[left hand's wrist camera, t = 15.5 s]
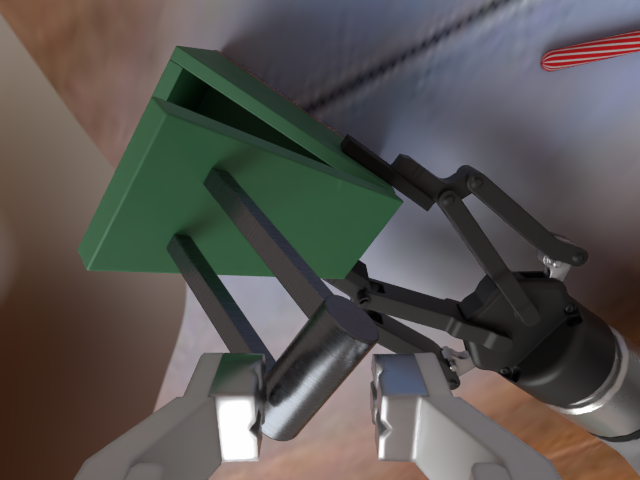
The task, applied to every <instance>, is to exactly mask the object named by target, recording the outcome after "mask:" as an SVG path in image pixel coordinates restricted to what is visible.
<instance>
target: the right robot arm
mask: <svg viewBox="0 0 640 480" xmlns="http://www.w3.org/2000/svg"><path fill="white" fill-rule="evenodd" d="M341 148H342V150H343V151H344V152H345V153H347V154H348V155H349V156H351V157H352V158H354V159H355V160H356V161H358V162H359V163H361V164H362V165H363V166H365V167H366V168H368V169H369V170H370V171H372V172H373V173H375V174H376V175H377V176H379V177H380V178H382V179H383V180H384V181H386V182H387V183H389V184H390V185H391V186H393V187H394V188H396V189H397V190H398V191H400V192H401V193H403V194H404V195H405V196H407V197H408V198H410V199H411V200H412V201H414V202H415V203H416V204H418V205H419V206H421V207H422V208H423V209H425V210H426V211H428V210H429V209H430V208H431V207H432V205H433V204H434V203H435V202H436V203H437V204H438V206H439V207H440V208H441V210H442V211H443V213H444V214H445V215H446V217H447V218H448V220H449V221H450V223H451V224H452V225H453V227H454V228H455V230H456V231H457V233H458V234H459V235H460V237H461V238H462V240H463V241H464V243H465V244H466V245H467V247H468V248H469V250H470V251H471V252H472V254H473V255H474V257H475V258H476V260H477V261H478V263H479V264H480V266H481V267H482V269H483V270H484V271H485V273H486V274H487V275H486V276H485V277H484V278H483V279H482V280H481V281H480V282H479V284H478V286H477V288H476V290H475V291H474V292H473V293H471V294H470V295H468V296H467V297H465V298H464V299H463V301H462V302H459V301H455V300H452V299H448V298H446V299H445V300H443V299H439V298H436V297H432V296H429V295H426V294H422V293H419V292H415V291H412V290H409V289H405V288H402V287H398V286H395V285H392V284H388V283H385V282H381V281H378V280H375V279H371V278H369V277H368V272H367V268H366V265H365V264H364V263H362V262H361V261H359V260H358V261H357V263H356V264H355V265H354V266H353V268H352V269H351V270H350V272H349V273H348V274H347V276H346V277H345V278H344V279H327V278H321V279H323V280H325V281H326V282H328V283H329V284H331V285H333V286H334V287H336V288H337V289H339V290H340V291H342V292H344V293H345V294H347V295H348V296H349V297H350V298H351V299H350V301H352V302H353V303H355V304H356V305H358V306H359V307H360V308H361V309H363V310H364V311H365V312H366V313H367V314H368V315H369V316H370V318H371V319H372V320H373V321H374V323H375V325H376V326H377V328H378V331H379V340H378V342H377V343H378V344H380V345H382V346H384V347H385V348H387V349H389V350H391V351H393V352H395V353H397V354H413V353H434V354H435V355H436V357H437V359H438V362H439V364H440V366H441V369H442V371H443V373H444V376H445V378H446V380H447V383H448V385H449V387H450V390H454V389H457V388H458V387H459V385H460V380H459V378H458V377H459V376H461V375H463V374H464V373H466V372H468V371H469V370H471V369H473V368H474V367H477V368H479V369H482V370H490V371H494V372H497V373H498V374H500V375H501V376H503V377H504V378H505V379H507V380H508V381H510V382H511V383H513V384H514V385H516V386H517V387H519V388H521V389H522V390H524V391H525V392H527V393H528V394H530V395H531V396H533V397H535V398H536V399H538V400H539V401H541V402H543V403H545V404H546V405H547V406H548V407H550V408H551V409H553V410H554V411H556V412H558V413H559V414H561V415H562V416H564V417H566V418H567V419H569V420H570V421H572V422H574V423H575V424H577V425H578V426H580V427H582V428H583V429H585V430H586V431H587V432H589V433H590V434H592V435H594V436H596V437H597V438H599V439H600V440H602V441H603V442H605V443H606V444H608V445H609V446H610V447H612V448H613V449H615V450H616V451H618V452H619V453H620V454H621V455H622V456H623V457H624V458H625V459H626V460H627V461H628V462H629V464H630V465H631V466H632V467H633V469H634V470H635V471H636V472H637V474H638V475H639V476H640V347H639V346H638V345H636V344H635V343H633V342H632V341H631V340H629V339H628V338H627V337H625V336H624V335H623V334H621V333H620V332H619V331H617V330H616V329H614V328H613V327H611V326H610V325H608V324H606V323H605V322H604V321H603V320H602V319H601V318H599V317H598V316H597V315H595V314H594V313H592V312H591V311H590V310H588V309H587V308H586V307H584V306H583V305H581V304H580V303H579V302H577V301H576V300H575V299H573V298H572V297H570V296H569V295H568V293H567V290H566V287H565V285H564V284H563V283H562V281H563V280H564V278H565V276H566V275H567V273H568V271H569V270H570V268H571V267H572V265H573V266H581V265H582V264H584V263H585V262H586V261H587V259H588V253H587V252H586V251H585V250H584V249H582V248H581V247H579V246H578V245H576V244H575V243H573V242H572V241H570V240H569V239H567V238H565V237H564V236H561V235H558V234H555V233H552V232H549V231H547V230H546V229H545V228H544V227H543V226H542V225H541V224H540V223H538V222H537V221H536V220H535V219H534V218H533V217H532V216H530V215H529V214H528V213H527V212H526V211H525V210H524V209H523V208H521V207H520V206H519V205H518V204H517V203H516V202H515V201H513V200H512V199H511V198H510V197H509V196H508V195H507V194H506V193H504V192H503V191H502V190H501V189H500V188H499V187H498V186H496V185H495V184H494V183H493V182H492V181H491V180H490V179H489V178H487V177H486V176H485V175H484V174H482V173H481V172H479V171H477V170H476V169H474V168H472V167H471V166H469V165H464V166H461V167H460V168H459V169H458V170H457V172H456V173H455V174H453V175H452V176H450V177H448V178H444V179H441V178H438V177H436V176H435V175H433V174H432V173H431V172H429V171H428V170H427V169H425V168H424V167H423V166H421V165H420V164H419V163H417V162H416V161H414V160H413V159H412V158H410V157H409V156H407V155H403V154H399V155H398V157H397V158H396V159H395V161H394V162H393V163H392V165H390V164H388V163H387V162H385V161H384V160H383V159H381V158H380V157H379V156H377V155H376V154H375V153H373V152H372V151H370V150H369V149H368V148H366V147H365V146H364V145H362V144H361V143H359V142H358V141H357V140H355V139H354V138H353V137H351V136H350V135H348V134H347V135H346V136H345V138H344V139H343V141H342V142H341ZM471 193H473V194H474V195H475V196H476V197H477V198H478V199H480V200H481V201H482V202H483V203H484V204H485V205H487V206H488V207H489V208H490V209H491V210H492V211H494V212H495V213H496V214H497V215H498V216H499V217H501V218H502V219H503V220H504V221H505V222H506V223H508V224H509V225H510V226H511V227H512V228H513V229H514V230H516V231H517V232H518V233H519V234H520V235H521V236H523V237H524V238H525V239H526V240H527V241H529V242H530V243H531V244H532V245H534V246H535V247H536V248H537V258H538V260H539V261H541V262H542V263H543V264H544V271H517V272H511V271H510V270H509V269H508V268H507V266H506V265H505V263H504V262H503V260H502V259H501V257H500V256H499V255H498V253H497V252H496V250H495V249H494V247H493V246H492V244H491V243H490V241H489V240H488V238H487V237H486V235H485V234H484V232H483V231H482V230H481V228H480V227H479V225H478V224H477V222H476V221H475V219H474V218H473V216H472V215H471V213H470V212H469V210H468V209H467V207H466V206H465V204H464V203H463V202H462V199H463V198H465V197H466V196H468V195H470V194H471ZM386 314H387V315H386ZM388 315H391V316H394V317H397V318H401V319H404V320H408V321H411V322H415V323H418V324H422V325H425V326H429V327H432V328H436V329H439V330H443V331H446V332H447V333H449V334H450V335H451V336H453V337H455V338H458V339H462V340H463V342H464V346H465V349H466V350H465V351H463V352H457V351H455V350H453V349H451V348H449V347H448V346H444V347H442V349H441V347H440V346H439V345H438V344H436V343H435V342H434V341H432V340H431V339H429V338H427V337H426V336H424V335H422V334H420V333H418V332H417V331H415V330H413V329H411V328H409V327H407V326H406V325H404V324H402V323H400V322H398V321H397V320H395V319H393V318H391V317H389V316H388Z"/></svg>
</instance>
